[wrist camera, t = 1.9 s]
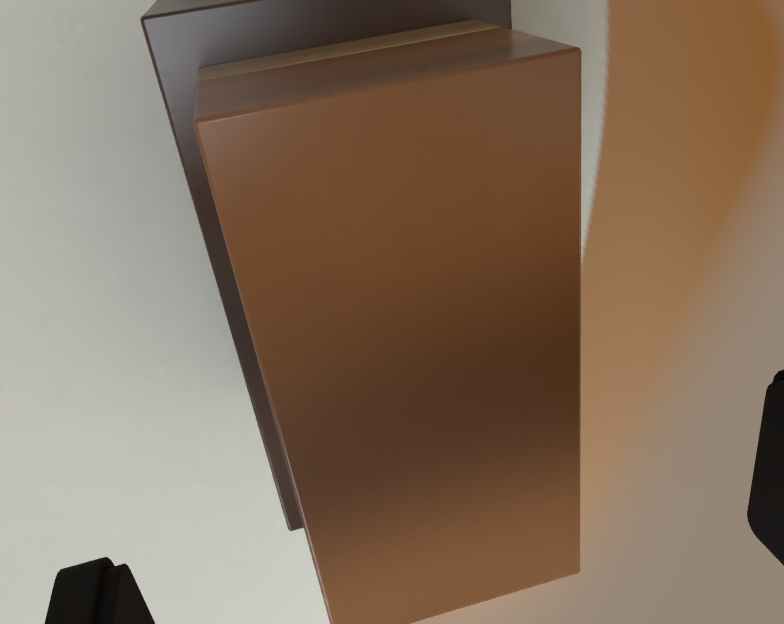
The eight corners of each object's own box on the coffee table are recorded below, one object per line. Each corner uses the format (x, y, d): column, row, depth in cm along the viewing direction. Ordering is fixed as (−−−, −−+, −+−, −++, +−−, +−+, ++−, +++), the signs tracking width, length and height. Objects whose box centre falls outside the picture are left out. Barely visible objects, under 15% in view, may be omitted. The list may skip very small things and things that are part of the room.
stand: (161, -7, 18) (138, 16, 12) (415, -48, 19) (510, -45, 13) (269, 389, 25) (289, 532, 19) (455, 343, 26) (532, 466, 20)
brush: (196, 68, 13) (191, 119, 9) (476, 18, 14) (583, 46, 10) (309, 498, 18) (336, 647, 14) (505, 446, 19) (580, 573, 15)
